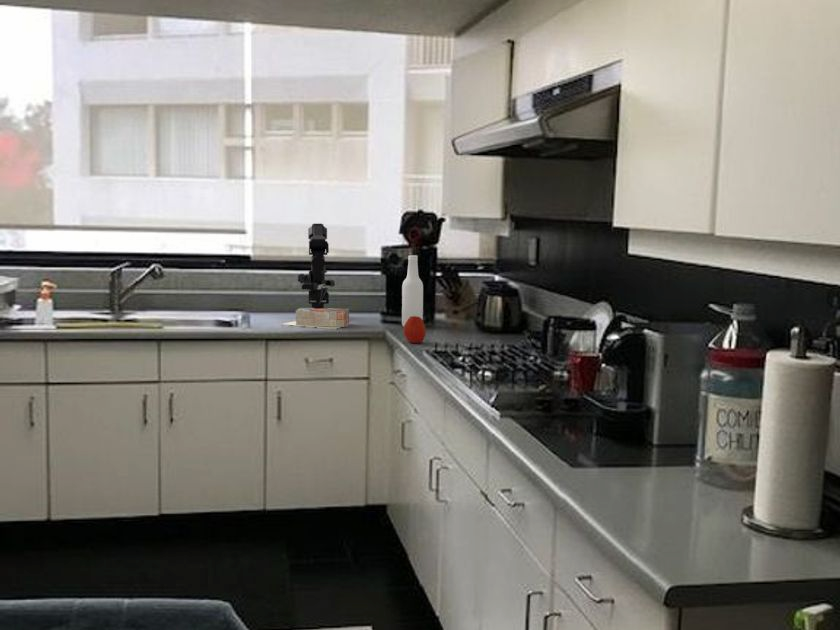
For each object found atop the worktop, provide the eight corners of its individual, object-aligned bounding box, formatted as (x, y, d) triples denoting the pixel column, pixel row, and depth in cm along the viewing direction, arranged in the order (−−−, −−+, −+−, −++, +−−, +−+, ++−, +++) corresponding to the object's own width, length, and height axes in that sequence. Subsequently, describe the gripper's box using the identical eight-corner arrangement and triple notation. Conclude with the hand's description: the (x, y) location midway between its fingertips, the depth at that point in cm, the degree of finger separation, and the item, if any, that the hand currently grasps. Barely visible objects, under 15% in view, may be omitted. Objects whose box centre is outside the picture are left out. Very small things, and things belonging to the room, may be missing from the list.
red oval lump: (400, 343, 340) (400, 315, 339) (408, 340, 348) (408, 312, 347) (420, 345, 338) (421, 316, 336) (428, 341, 345) (429, 313, 344)
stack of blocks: (300, 321, 393) (293, 325, 380) (300, 307, 392) (293, 311, 380) (349, 323, 390) (344, 327, 378) (349, 308, 390) (344, 312, 378)
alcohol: (397, 326, 385) (398, 255, 381) (410, 324, 391) (411, 254, 388) (414, 328, 379) (414, 256, 375) (426, 326, 386) (427, 255, 382)
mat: (295, 321, 396) (295, 320, 396) (348, 325, 386) (348, 324, 386) (281, 325, 385) (281, 324, 385) (335, 329, 375) (335, 328, 375)
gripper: (312, 265, 397) (312, 301, 399) (290, 268, 380) (290, 306, 382) (335, 266, 392) (335, 302, 394) (313, 269, 375) (313, 307, 377)
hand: (318, 304), depth 387 cm, fingers closed
